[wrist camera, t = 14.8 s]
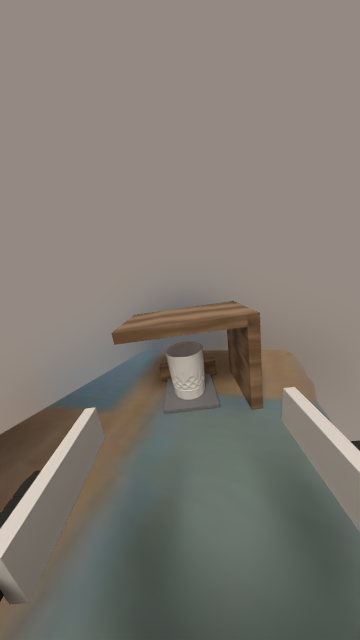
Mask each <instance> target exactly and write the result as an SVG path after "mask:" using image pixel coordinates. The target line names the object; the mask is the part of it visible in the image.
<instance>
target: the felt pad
mask: <svg viewBox="0 0 360 640" xmlns="http://www.w3.org/2000/svg"><path fill="white" fill-rule="evenodd" d="M204 382H205V391H204V393H203V394H202V395H201V396H200V397H198V398H196V399H192V400H184V399H181V398H179V397H178V396H177V395H176V393H175V389H174V385H173V382H172V378H169V379H167V386H166V394H165V402H164V410H163V412H164V414H166V413H174V412H183V411H191V410H200V409H208V408H216V407H220V404H219V400H218V397H217V394H216V391H215V388H214V384H213V381H212V378H211V375H210V373H209V374H205V377H204Z"/></svg>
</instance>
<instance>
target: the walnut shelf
mask: <svg viewBox="0 0 360 640" xmlns="http://www.w3.org/2000/svg"><path fill="white" fill-rule="evenodd" d="M226 329H227V336H228V349H229V362H230V370H231V372H232V374H233V376H234V378H235V380H236V381H237V383H238V385H239V387H240V389H241V391H242V392H243V394H244V396H245V398H246V400H247V402H248V404H249V405H250V407H251V409H261V408H263V401H262V369H261V340H260V339H261V337H260V313H259V312H257V311H254V310H252V309H250V308H248V307H245V306H243V305H241V304H239V303H236V302H234V301H230V302H223V303H216V304H209V305H202V306H195V307H188V308H180V309H173V310H166V311H159V312H152V313H145V314H138V315H134V316H133V317H131V318H130V319H129V320H127V321H126V322H125V323H124V324H122V325H121V326H120V327H119V328H117V329H116V330H115V331H114V332H113V333H112V337H113V340H114V344H123V343H130V342H137V341H144V340H152V339H160V338H167V337H174V336H182V335H189V334H197V333H204V332H211V331H219V330H226ZM160 372H161V378H162V381H167V379H169V378H171V374H170V370H169V366H168V363H164V364H160ZM204 373H205V374H209V373H210V375H216V369H215V360H214V358H213V357H210V358H204Z"/></svg>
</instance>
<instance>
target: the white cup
mask: <svg viewBox="0 0 360 640" xmlns="http://www.w3.org/2000/svg"><path fill="white" fill-rule="evenodd" d="M166 357H167V361H168V366H169V370H170V374H171V378H172V382H173V385H174V389H175V393H176V395H177V396H178V397H179V398H181V399H184V400H192V399H196V398H198V397H200V396H201V395H202V394H203V393H204V391H205V382H204V377H205V373H204V357H203V346H202V345H201V344H199V343H196V342H182V343H178V344H174V345H172V346H170V347H169V348H168V349H167V350H166Z"/></svg>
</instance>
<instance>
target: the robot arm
mask: <svg viewBox="0 0 360 640" xmlns="http://www.w3.org/2000/svg"><path fill="white" fill-rule="evenodd" d="M282 422H283V423H284V425H285V426H286V427H287V429H288V430H289V432H290V433H291V435H292V436H293V437H294V439H295V440H296V442H297V443H298V445H299V446H300V447H301V449H302V450H303V452H304V453H305V455H306V456H307V458H308V459H309V460H310V462H311V463H312V465H313V466H314V468H315V469H316V470H317V472H318V473H319V475H320V476H321V478H322V479H323V480H324V482H325V483H326V485H327V486H328V488H329V489H330V491H331V492H332V493H333V495H334V496H335V498H336V499H337V501H338V502H339V503H340V505H341V506H342V508H343V509H344V511H345V512H346V513H347V515H348V516H349V518H350V519H351V521H352V522H353V523H354V525H355V526H356V528H357V529H358V531H359V532H360V441H351V442H350V441H349V440H348V439H347V438H346V437H345V436H344V435H343V434H342V433H341V432H340V431H339V430H338V429H337V428H336V427H335V426H334V425H333V424H332V423H331V422H330V421H329V420H328V419H327V418H326V417H324V416H323V415H322V414H321V413H320V412H319V411H318V410H317V409H316V408H315V407H314V406H313V405H312V404H311V403H310V402H309V401H308V400H307V399H306V398H305V397H304V396H303V395H302V394H301V393H300V392H299V391H298V390H297V389H296V388H295V387H291V388H283V406H282ZM104 439H105V437H104V433H103V430H102V427H101V423H100V420H99V416H98V413H97V410H96V408H87V409H85V410H84V411H83V413H82V414H81V415H80V417H79V418H78V420H77V421H76V423H75V424H74V425H73V427H72V428H71V430H70V431H69V432H68V434H67V435H66V437H65V438H64V440H63V441H62V442H61V444H60V445H59V447H58V448H57V449H56V451H55V452H54V454H53V455H52V457H51V458H50V459H49V461H48V462H47V464H46V465H45V466H44V468H43V469H42V471H35V472H34V473H33V474H32V475H31V476H30V477H29V478H28V479H27V480H26V481H25V482H23V484H22V485H21V486H20V488H19V489H18V490H17V492H16V493H15V494H14V496H13V498H12V499H11V500H10V501H9V502H8V504H7V505H6V506H5V508H4V510H3V511H2V512H1V513H0V601H1V599H2V598H3V596H4V597H5V599H6V600H7V601H8V603H9V604H21V603H29V602H30V600H31V598H32V596H33V594H34V591H35V589H36V587H37V585H38V583H39V581H40V578H41V576H42V574H43V572H44V570H45V568H46V565H47V563H48V561H49V559H50V557H51V554H52V552H53V550H54V548H55V546H56V544H57V541H58V539H59V537H60V535H61V533H62V530H63V528H64V526H65V524H66V522H67V520H68V517H69V515H70V513H71V511H72V509H73V506H74V504H75V502H76V500H77V498H78V496H79V493H80V491H81V489H82V487H83V485H84V483H85V480H86V478H87V476H88V474H89V472H90V469H91V467H92V465H93V463H94V461H95V459H96V456H97V454H98V452H99V450H100V448H101V445H102V443H103V441H104Z"/></svg>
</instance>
